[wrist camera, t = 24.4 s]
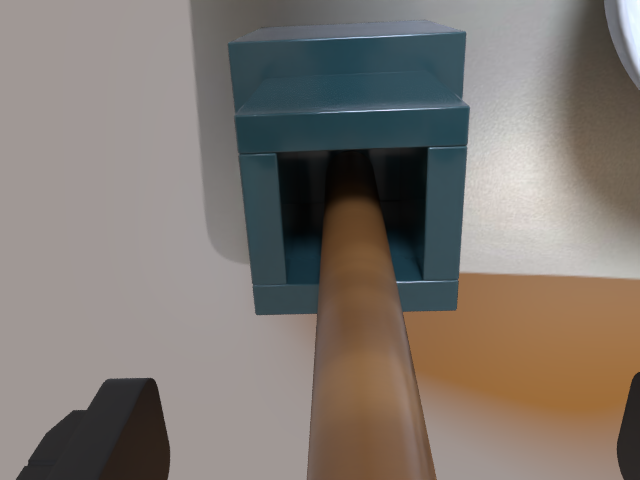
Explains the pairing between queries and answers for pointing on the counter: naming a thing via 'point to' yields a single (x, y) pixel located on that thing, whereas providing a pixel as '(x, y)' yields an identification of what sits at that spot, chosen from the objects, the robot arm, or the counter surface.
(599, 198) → the counter surface
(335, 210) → the stick
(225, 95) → the counter surface
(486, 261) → the counter surface
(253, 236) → the utensil holder
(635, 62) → the serving bowl
